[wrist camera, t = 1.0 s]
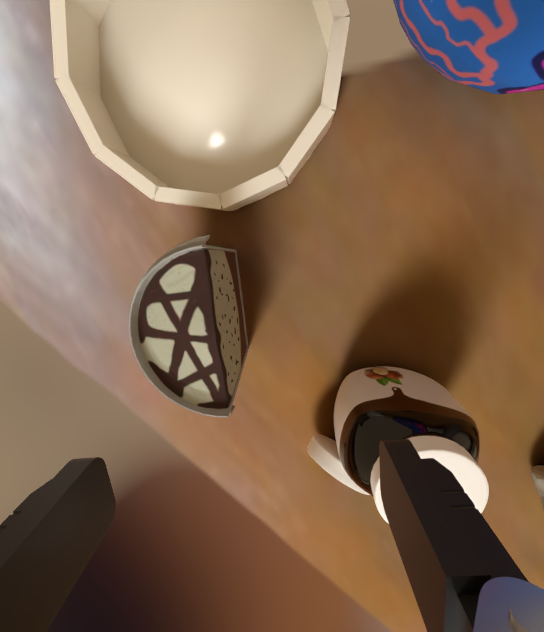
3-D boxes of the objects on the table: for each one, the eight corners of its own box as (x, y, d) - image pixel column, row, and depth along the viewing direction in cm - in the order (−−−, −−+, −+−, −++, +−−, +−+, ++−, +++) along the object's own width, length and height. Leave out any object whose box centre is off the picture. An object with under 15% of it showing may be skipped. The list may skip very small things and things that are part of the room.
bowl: (278, -146, 21) (273, -242, 16) (371, 148, 25) (386, 133, 21) (47, 7, 24) (-6, -40, 20) (164, 244, 28) (140, 247, 24)
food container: (166, 239, 28) (98, 245, 19) (234, 232, 27) (200, 235, 18) (189, 366, 31) (141, 427, 22) (250, 362, 31) (229, 424, 21)
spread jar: (444, 367, 29) (535, 454, 18) (418, 467, 33) (481, 593, 21) (315, 353, 30) (326, 429, 19) (302, 452, 33) (304, 567, 22)
